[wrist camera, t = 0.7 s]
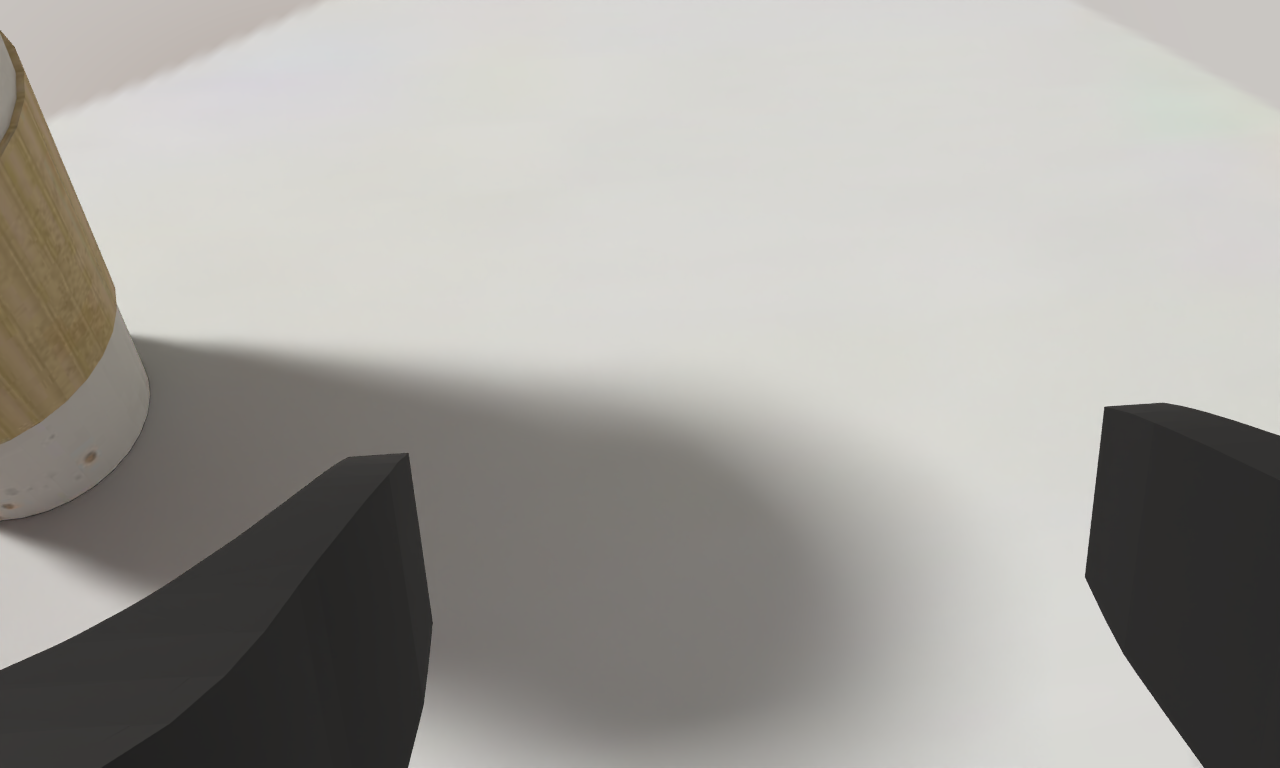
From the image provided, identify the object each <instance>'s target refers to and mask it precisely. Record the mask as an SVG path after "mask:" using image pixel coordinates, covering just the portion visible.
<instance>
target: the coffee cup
mask: <svg viewBox="0 0 1280 768" xmlns="http://www.w3.org/2000/svg"><path fill="white" fill-rule="evenodd" d="M149 400H150V390H149V381H148V377H147V374H146V372H145V369H144V367H143V364H142V362H141V359H140V357H139V355H138V352H137V350H136V348H135V345H134V343H133V341H132V338H131V336H130V334H129V332H128V329H127V327H126V325H125V322H124V320H123V318H122V315H121V313H120V311H119V308H118V306H117V304H116V294H115V287H114V284H113V282H112V279H111V277H110V274H109V272H108V269H107V267H106V264H105V262H104V260H103V257H102V255H101V252H100V250H99V248H98V245H97V243H96V240H95V238H94V236H93V233H92V231H91V228H90V226H89V224H88V221H87V219H86V217H85V214H84V212H83V209H82V207H81V205H80V202H79V200H78V197H77V195H76V193H75V190H74V188H73V185H72V183H71V181H70V178H69V176H68V173H67V171H66V169H65V166H64V164H63V162H62V159H61V157H60V154H59V152H58V150H57V147H56V145H55V142H54V140H53V138H52V135H51V133H50V130H49V128H48V126H47V123H46V121H45V118H44V116H43V114H42V111H41V109H40V107H39V104H38V102H37V99H36V97H35V95H34V92H33V90H32V88H31V85H30V83H29V80H28V78H27V75H26V73H25V71H24V68H23V66H22V64H21V61H20V59H19V56H18V54H17V52H16V49H15V47H14V46H13V45H12V43H11V42H10V41H9V40H8V39H7V38H6V36H5V35H4V34H3V33H2V32H1V31H0V520H8V519H17V518H24V517H28V516H31V515H35V514H38V513H42V512H46V511H49V510H51V509H53V508H56V507H58V506H60V505H62V504H65V503H67V502H69V501H71V500H73V499H75V498H76V497H78V496H79V495H81V494H83V493H84V492H86V491H87V490H89V489H91V488H92V487H94V486H95V485H96V484H97V483H99V482H100V481H101V480H102V479H103V478H105V477H106V476H107V475H108V474H109V473H110V472H112V471H113V470H114V469H115V467H116V466H117V465H118V464H119V463H120V462H121V461H122V459H123V458H124V457H125V456H126V455H127V454H128V453H129V451H130V449H131V448H132V446H133V444H134V443H135V441H136V440H137V438H138V436H139V435H140V433H141V430H142V427H143V425H144V422H145V420H146V417H147V414H148V407H149Z"/></svg>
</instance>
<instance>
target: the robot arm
mask: <svg viewBox="0 0 1280 768" xmlns="http://www.w3.org/2000/svg"><path fill="white" fill-rule="evenodd" d="M1085 578H1086V580H1087V582H1088V584H1089V587H1090V589H1091V591H1092V593H1093V595H1094V597H1095V599H1096V601H1097V603H1098V605H1099V607H1100V610H1101V612H1102V614H1103V616H1104V618H1105V620H1106V622H1107V624H1108V626H1109V628H1110V629H1111V631H1112V633H1113V635H1114V637H1115V639H1116V641H1117V643H1118V645H1119V646H1120V648H1121V650H1122V652H1123V654H1124V655H1125V657H1126V658H1127V660H1128V661H1129V663H1130V664H1131V666H1132V667H1133V669H1134V670H1135V672H1136V673H1137V675H1138V676H1139V677H1140V679H1141V680H1142V682H1143V683H1144V684H1145V686H1146V687H1147V689H1148V690H1149V692H1150V693H1151V694H1152V696H1153V697H1154V699H1155V700H1156V701H1157V703H1158V704H1159V706H1160V707H1161V709H1162V710H1163V711H1164V713H1165V714H1166V716H1167V717H1168V718H1169V720H1170V721H1171V723H1172V724H1173V725H1174V727H1175V728H1176V729H1177V731H1178V732H1179V734H1180V735H1181V736H1182V738H1183V739H1184V741H1185V742H1186V743H1187V745H1188V746H1189V747H1190V749H1191V750H1192V752H1193V753H1194V754H1195V756H1196V757H1197V759H1198V760H1199V761H1200V763H1201V764H1202V765H1203V767H1204V768H1280V436H1279V435H1276V434H1273V433H1270V432H1267V431H1264V430H1261V429H1258V428H1255V427H1252V426H1249V425H1246V424H1243V423H1240V422H1237V421H1234V420H1231V419H1227V418H1224V417H1221V416H1217V415H1214V414H1211V413H1207V412H1204V411H1200V410H1196V409H1192V408H1188V407H1184V406H1179V405H1173V404H1167V403H1152V404H1137V405H1122V406H1107V407H1104V416H1103V424H1102V433H1101V442H1100V451H1099V459H1098V468H1097V477H1096V485H1095V494H1094V503H1093V511H1092V520H1091V529H1090V537H1089V546H1088V555H1087V563H1086V572H1085ZM432 624H433V622H432V615H431V608H430V601H429V594H428V587H427V580H426V573H425V566H424V559H423V552H422V545H421V538H420V531H419V524H418V517H417V510H416V503H415V496H414V489H413V482H412V475H411V468H410V461H409V454H408V453H402V454H387V455H372V456H357V457H348V458H346V459H344V460H343V461H341V462H339V463H337V464H336V465H334V466H333V467H331V468H330V469H328V470H327V471H326V472H324V473H323V474H321V475H320V476H319V477H317V478H316V479H315V480H313V481H312V482H311V483H309V484H308V485H307V486H305V487H304V488H303V489H301V490H300V491H299V492H297V493H296V494H295V495H293V496H292V497H291V498H290V499H288V500H287V501H286V502H284V503H283V504H282V505H280V506H279V507H277V508H276V509H275V510H273V511H272V512H271V513H269V514H268V515H267V516H265V517H264V518H263V519H261V520H260V521H259V522H257V523H256V524H255V525H253V526H252V527H251V528H249V529H248V530H247V531H245V532H244V533H243V534H241V535H240V536H238V537H237V538H236V539H234V540H233V541H231V542H230V543H228V544H227V545H225V546H224V547H222V548H221V549H219V550H218V551H216V552H215V553H213V554H212V555H210V556H209V557H207V558H206V559H204V560H203V561H201V562H200V563H198V564H197V565H195V566H194V567H192V568H191V569H189V570H188V571H186V572H185V573H183V574H182V575H181V576H179V577H178V578H176V579H175V580H173V581H172V582H170V583H169V584H167V585H165V586H164V587H162V588H160V589H159V590H157V591H156V592H154V593H152V594H151V595H149V596H147V597H146V598H144V599H142V600H140V601H139V602H137V603H135V604H133V605H132V606H130V607H128V608H127V609H125V610H123V611H121V612H119V613H117V614H116V615H114V616H112V617H110V618H108V619H106V620H104V621H102V622H101V623H99V624H97V625H95V626H93V627H91V628H89V629H88V630H86V631H84V632H82V633H80V634H78V635H76V636H74V637H72V638H70V639H68V640H66V641H64V642H62V643H60V644H58V645H56V646H54V647H51V648H49V649H47V650H45V651H42V652H40V653H38V654H36V655H33V656H31V657H29V658H27V659H25V660H22V661H20V662H18V663H16V664H13V665H11V666H9V667H7V668H4V669H2V670H0V768H408V765H409V761H410V757H411V753H412V749H413V746H414V742H415V738H416V734H417V730H418V726H419V722H420V717H421V713H422V709H423V705H424V698H425V689H426V681H427V673H428V664H429V654H430V644H431V634H432Z"/></svg>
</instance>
